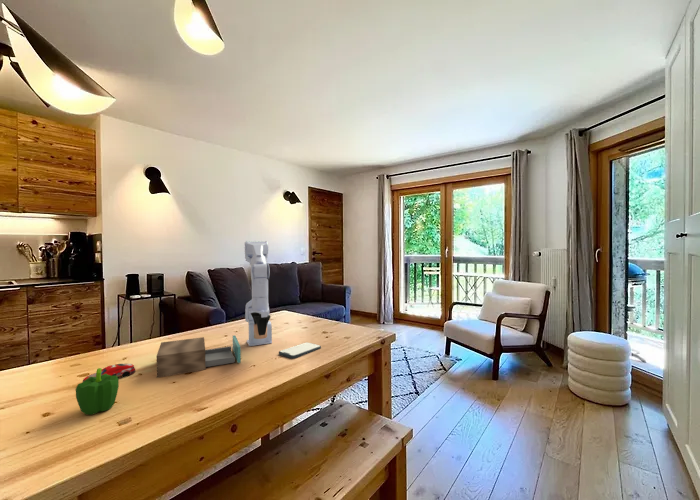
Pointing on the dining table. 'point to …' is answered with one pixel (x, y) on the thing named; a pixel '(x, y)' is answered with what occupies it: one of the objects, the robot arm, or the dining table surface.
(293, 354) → the phone case
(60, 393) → the dining table surface
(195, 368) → the spice box
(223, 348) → the drawer
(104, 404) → the bell pepper
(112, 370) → the race car
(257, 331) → the brown round cylinder
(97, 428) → the dining table surface
